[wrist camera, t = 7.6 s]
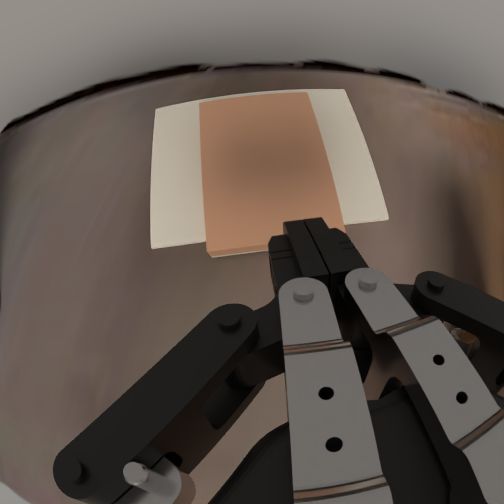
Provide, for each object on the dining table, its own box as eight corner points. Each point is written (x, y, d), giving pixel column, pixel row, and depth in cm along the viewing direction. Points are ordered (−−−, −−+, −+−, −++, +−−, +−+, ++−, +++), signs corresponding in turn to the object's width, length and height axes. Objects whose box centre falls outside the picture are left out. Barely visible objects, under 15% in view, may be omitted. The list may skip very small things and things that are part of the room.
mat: (152, 248, 22) (150, 247, 22) (156, 111, 26) (155, 108, 25) (387, 220, 22) (389, 218, 22) (343, 91, 25) (344, 89, 25)
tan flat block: (206, 251, 20) (199, 102, 23) (211, 257, 22) (202, 116, 25) (346, 234, 20) (307, 92, 23) (339, 241, 22) (304, 105, 25)
